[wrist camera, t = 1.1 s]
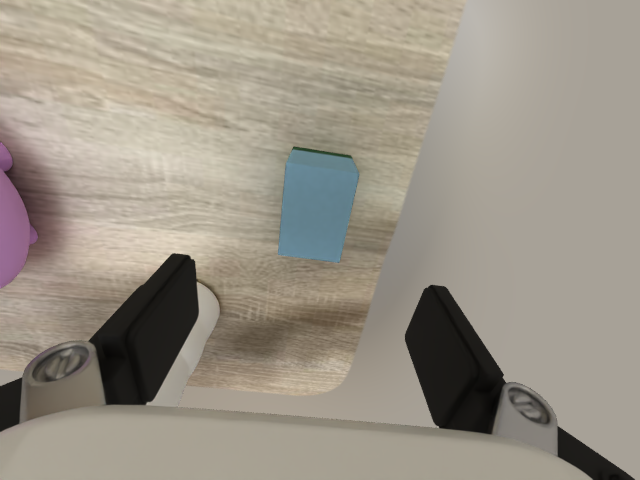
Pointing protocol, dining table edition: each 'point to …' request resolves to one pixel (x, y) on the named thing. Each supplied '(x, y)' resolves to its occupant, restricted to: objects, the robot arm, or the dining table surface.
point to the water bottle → (189, 350)
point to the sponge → (316, 204)
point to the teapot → (12, 225)
